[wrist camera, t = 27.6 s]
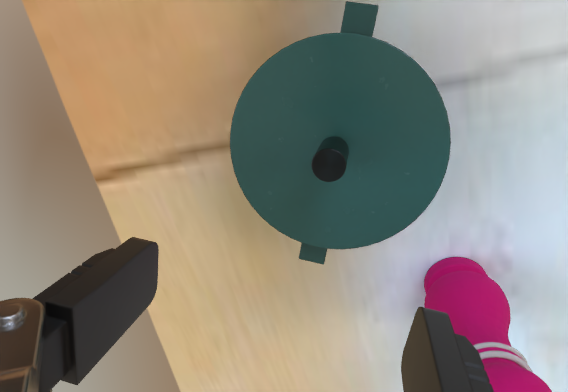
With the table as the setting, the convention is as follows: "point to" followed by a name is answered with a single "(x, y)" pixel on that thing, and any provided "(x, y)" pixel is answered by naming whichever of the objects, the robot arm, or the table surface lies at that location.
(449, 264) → the pepper mill
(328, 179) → the pot lid
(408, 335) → the robot arm
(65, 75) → the table surface
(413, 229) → the table surface
